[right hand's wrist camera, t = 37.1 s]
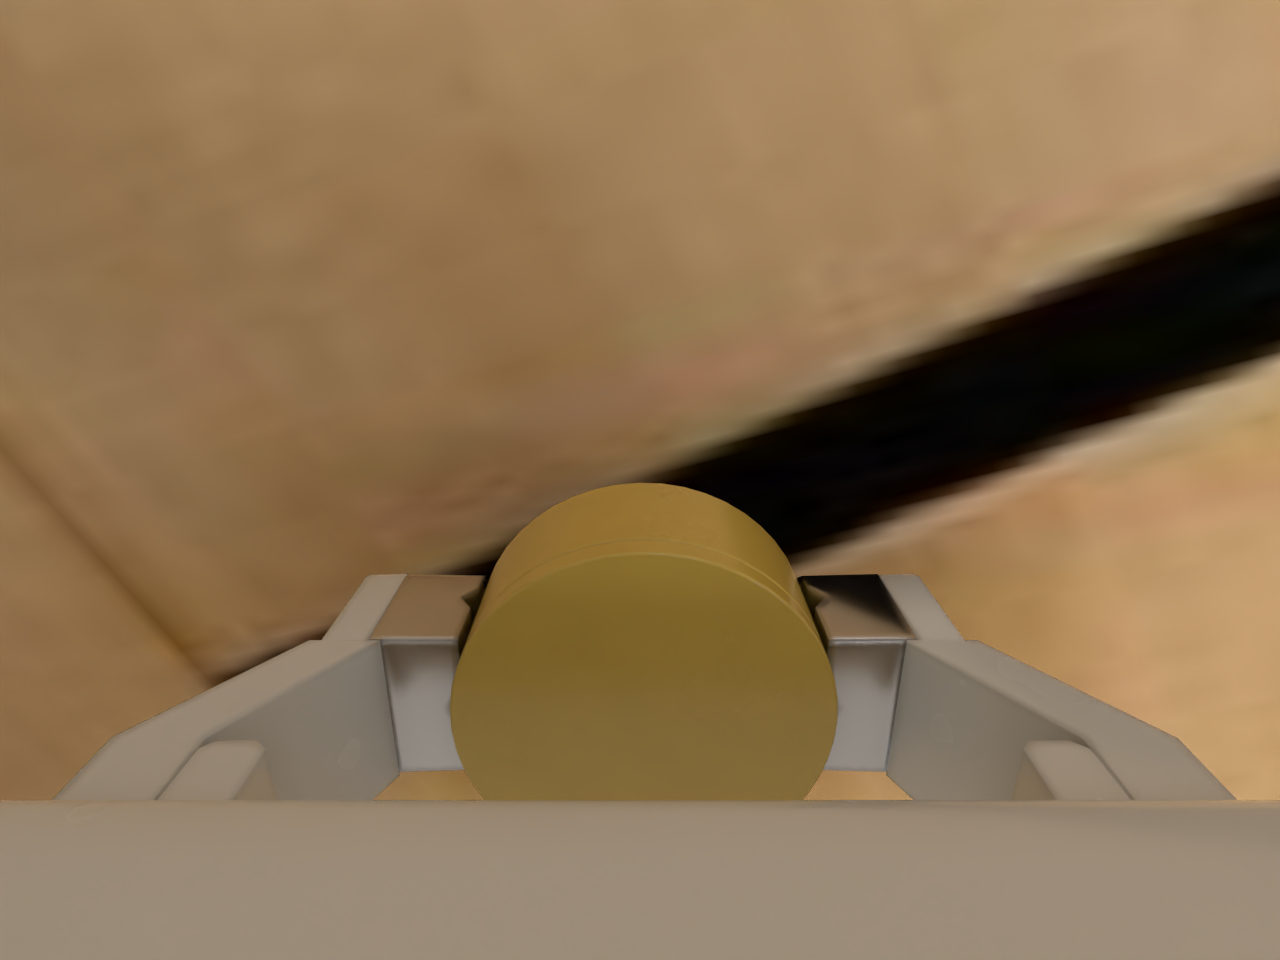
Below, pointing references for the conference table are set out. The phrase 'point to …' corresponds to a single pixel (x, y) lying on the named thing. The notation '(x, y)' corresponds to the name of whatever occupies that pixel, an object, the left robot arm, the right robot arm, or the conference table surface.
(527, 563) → the cap
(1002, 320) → the conference table surface
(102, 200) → the conference table surface
